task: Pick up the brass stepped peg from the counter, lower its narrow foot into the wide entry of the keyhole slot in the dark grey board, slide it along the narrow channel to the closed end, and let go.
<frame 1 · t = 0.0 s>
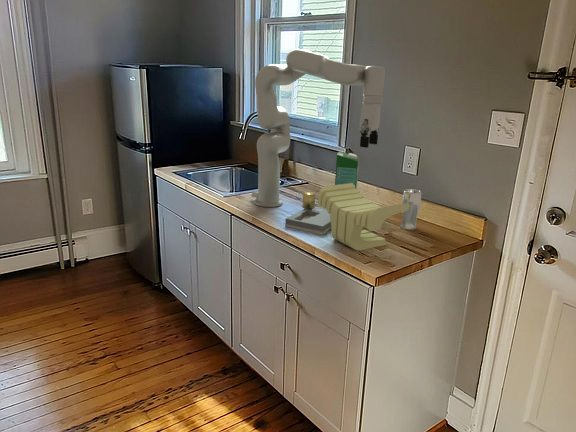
hand: (368, 145, 185), 31 cm above the counter, tool pointing down, fingers open, 9 cm apart
board: (312, 224, 189), on the counter
peg: (308, 214, 202), on the counter
beer glass: (408, 228, 189), on the counter
milk carton: (344, 209, 210), on the counter
slatted curved stool: (357, 242, 172), on the counter
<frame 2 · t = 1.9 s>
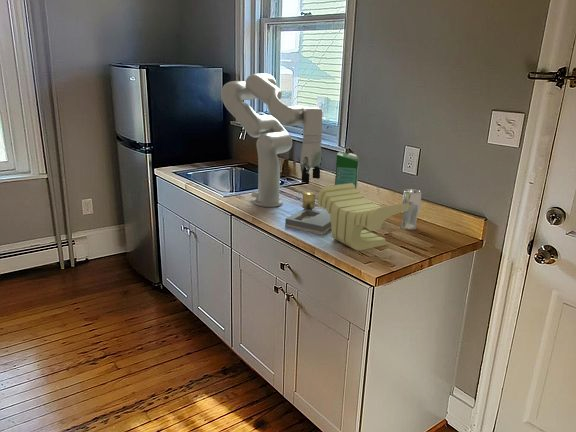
hand: (310, 180, 197), 15 cm above the counter, tool pointing down, fingers open, 9 cm apart
nothing on the counter moved.
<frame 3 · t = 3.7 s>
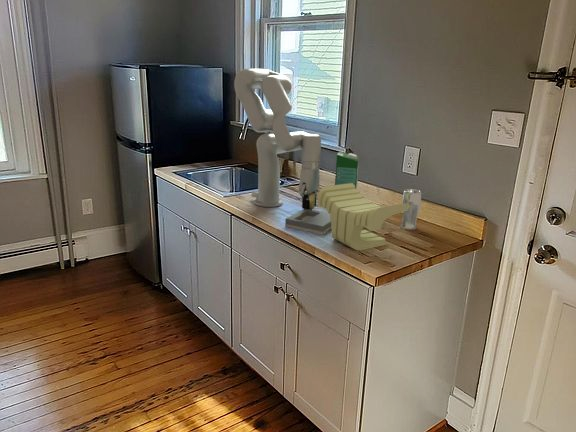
hand: (309, 206, 201), 3 cm above the counter, tool pointing down, fingers closed on peg, 5 cm apart
peg: (307, 214, 202), on the counter, touching gripper
everything else where it was.
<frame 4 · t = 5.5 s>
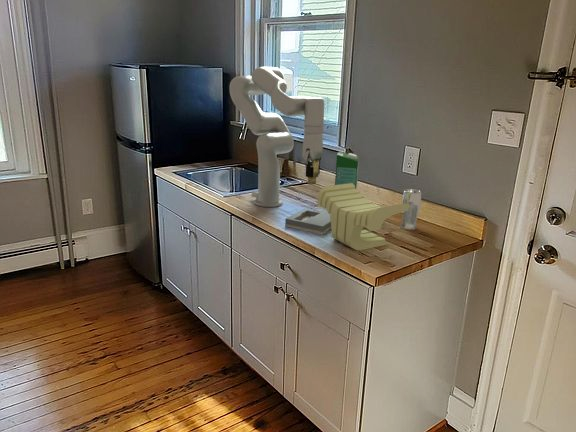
hand: (312, 175, 192), 18 cm above the counter, tool pointing down, fingers closed on peg, 5 cm apart
peg: (311, 183, 193), point 15 cm above the counter, touching gripper
everything else where it was.
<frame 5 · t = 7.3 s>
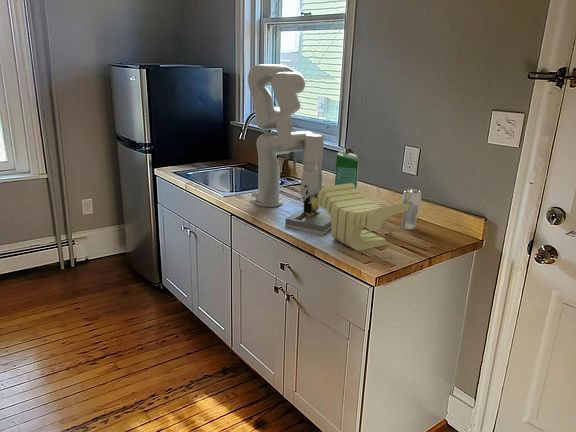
hand: (310, 210, 192), 5 cm above the counter, tool pointing down, fingers closed on peg, 5 cm apart
peg: (309, 218, 193), point 1 cm above the counter, touching gripper
everything else where it was.
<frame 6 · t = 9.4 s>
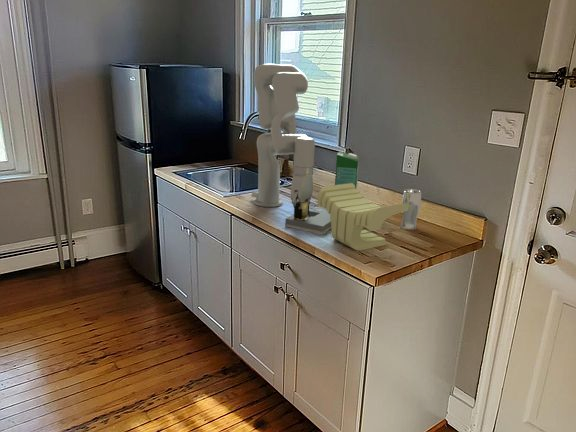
hand: (301, 215, 185), 4 cm above the counter, tool pointing down, fingers closed on peg, 5 cm apart
peg: (300, 223, 186), point 1 cm above the counter, touching gripper
everything else where it was.
when the fingers open (4 cm above the counter, at t = 10.6 s): peg stays where it is, resting on board.
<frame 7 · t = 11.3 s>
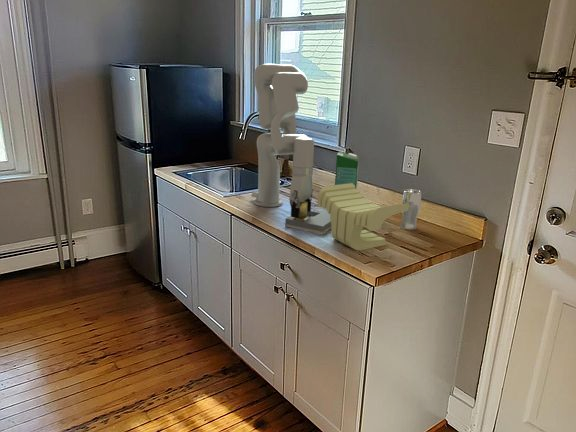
hand: (300, 214, 185), 5 cm above the counter, tool pointing down, fingers open, 9 cm apart
peg: (300, 223, 186), point 1 cm above the counter, touching board
everything else where it was.
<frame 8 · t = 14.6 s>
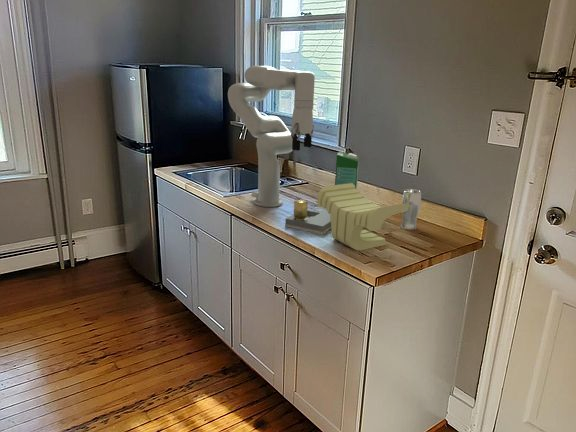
hand: (301, 148, 191), 28 cm above the counter, tool pointing down, fingers open, 9 cm apart
nothing on the counter moved.
at the end: peg 0.2 cm from the target spot on the board, point 1.0 cm above the board's base; peg tilted 0°; the gripper is holding nothing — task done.
